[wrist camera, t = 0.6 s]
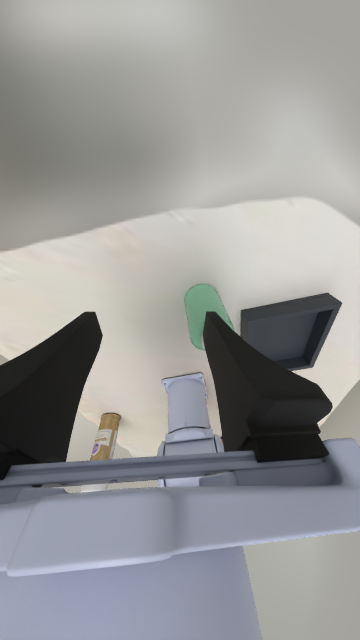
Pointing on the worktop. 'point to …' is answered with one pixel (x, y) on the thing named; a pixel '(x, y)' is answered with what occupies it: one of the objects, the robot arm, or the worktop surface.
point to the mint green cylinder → (202, 311)
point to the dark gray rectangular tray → (290, 329)
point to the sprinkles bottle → (104, 446)
